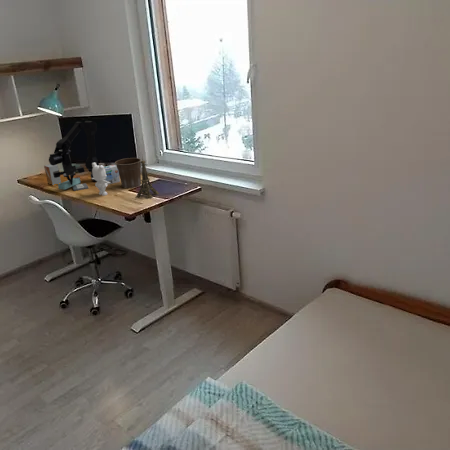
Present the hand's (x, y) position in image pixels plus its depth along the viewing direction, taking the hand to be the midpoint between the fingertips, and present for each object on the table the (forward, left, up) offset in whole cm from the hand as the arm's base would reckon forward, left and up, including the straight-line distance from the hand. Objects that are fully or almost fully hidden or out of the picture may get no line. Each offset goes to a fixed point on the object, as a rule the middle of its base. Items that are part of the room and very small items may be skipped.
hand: (71, 184), depth 295 cm
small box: (+9, -22, -3) cm, 24 cm away
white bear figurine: (-15, +24, -3) cm, 28 cm away
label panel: (-5, -1, -3) cm, 6 cm away
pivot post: (-5, -10, -3) cm, 11 cm away
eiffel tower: (-38, +42, -3) cm, 57 cm away
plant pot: (-35, +15, -3) cm, 38 cm away
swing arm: (0, -5, -2) cm, 5 cm away
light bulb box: (-25, -1, -3) cm, 25 cm away
